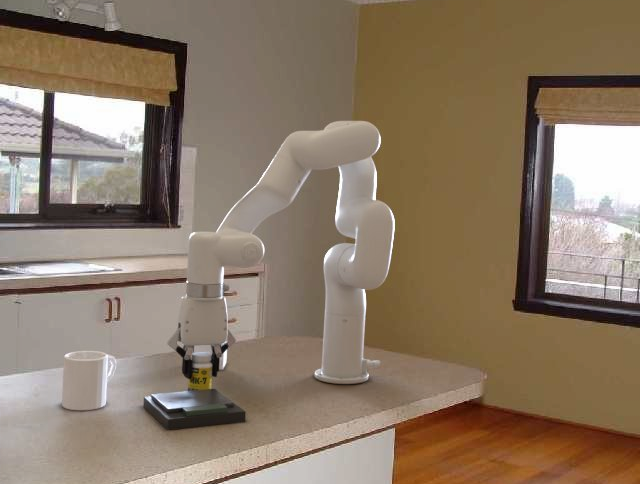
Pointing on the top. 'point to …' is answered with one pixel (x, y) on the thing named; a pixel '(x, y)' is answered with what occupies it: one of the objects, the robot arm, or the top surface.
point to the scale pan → (190, 399)
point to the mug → (86, 379)
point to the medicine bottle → (208, 349)
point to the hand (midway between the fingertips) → (200, 375)
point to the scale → (195, 415)
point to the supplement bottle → (200, 371)
